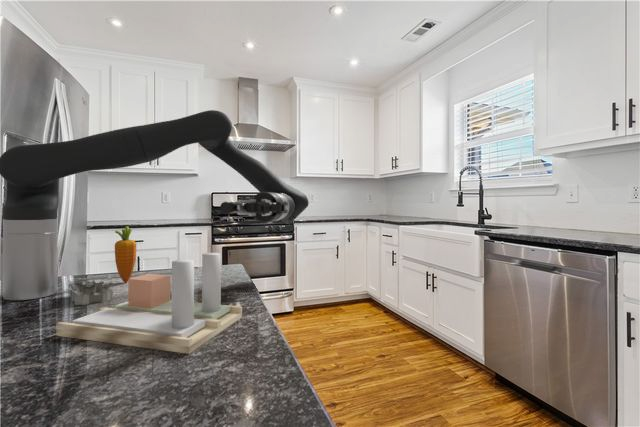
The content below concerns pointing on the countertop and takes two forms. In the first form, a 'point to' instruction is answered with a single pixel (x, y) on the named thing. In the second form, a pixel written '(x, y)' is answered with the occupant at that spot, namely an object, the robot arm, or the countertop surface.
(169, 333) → the strip
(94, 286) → the egg carton
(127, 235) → the carrot
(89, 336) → the board
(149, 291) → the cube
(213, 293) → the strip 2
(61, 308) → the countertop surface
